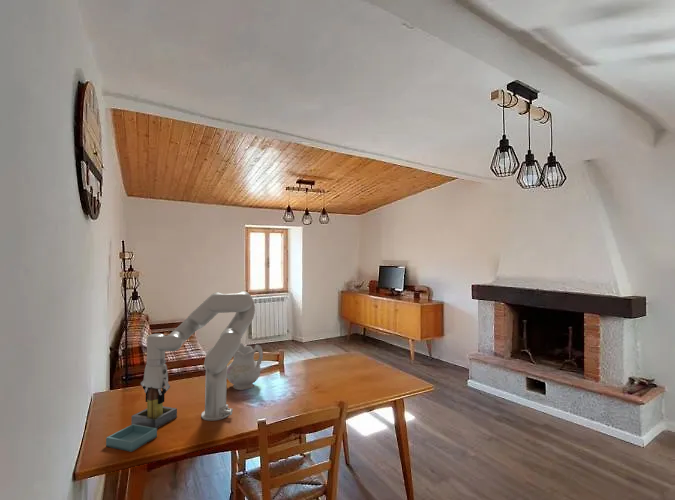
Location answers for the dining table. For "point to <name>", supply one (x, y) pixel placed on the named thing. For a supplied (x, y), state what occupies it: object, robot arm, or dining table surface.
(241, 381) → the ceramic pitcher
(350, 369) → the dining table surface
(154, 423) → the steel collar
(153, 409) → the sauce bottle
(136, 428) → the teal tray
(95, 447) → the dining table surface
